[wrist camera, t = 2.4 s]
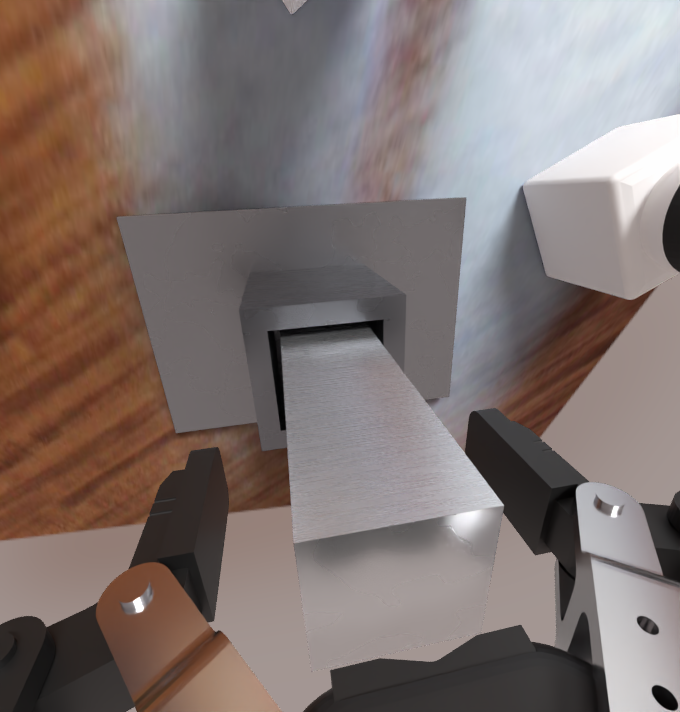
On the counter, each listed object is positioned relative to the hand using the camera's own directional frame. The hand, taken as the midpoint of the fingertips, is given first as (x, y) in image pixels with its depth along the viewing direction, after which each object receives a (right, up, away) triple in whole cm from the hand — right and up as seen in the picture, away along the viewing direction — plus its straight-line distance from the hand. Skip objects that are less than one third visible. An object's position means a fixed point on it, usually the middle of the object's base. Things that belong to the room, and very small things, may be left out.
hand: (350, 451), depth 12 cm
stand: (-2, +6, +13) cm, 15 cm away
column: (-2, +5, +12) cm, 13 cm away
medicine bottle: (+16, +13, +14) cm, 25 cm away
